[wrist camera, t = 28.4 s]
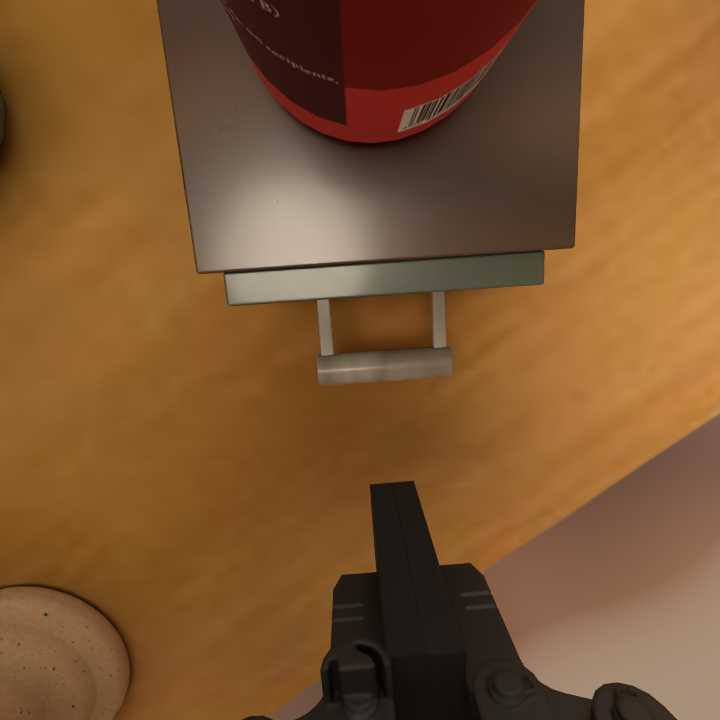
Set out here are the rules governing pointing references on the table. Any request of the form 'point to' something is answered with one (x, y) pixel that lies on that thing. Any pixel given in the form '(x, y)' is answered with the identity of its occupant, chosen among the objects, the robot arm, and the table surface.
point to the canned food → (373, 58)
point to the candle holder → (58, 658)
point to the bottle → (2, 119)
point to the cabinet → (374, 157)
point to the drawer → (381, 282)
